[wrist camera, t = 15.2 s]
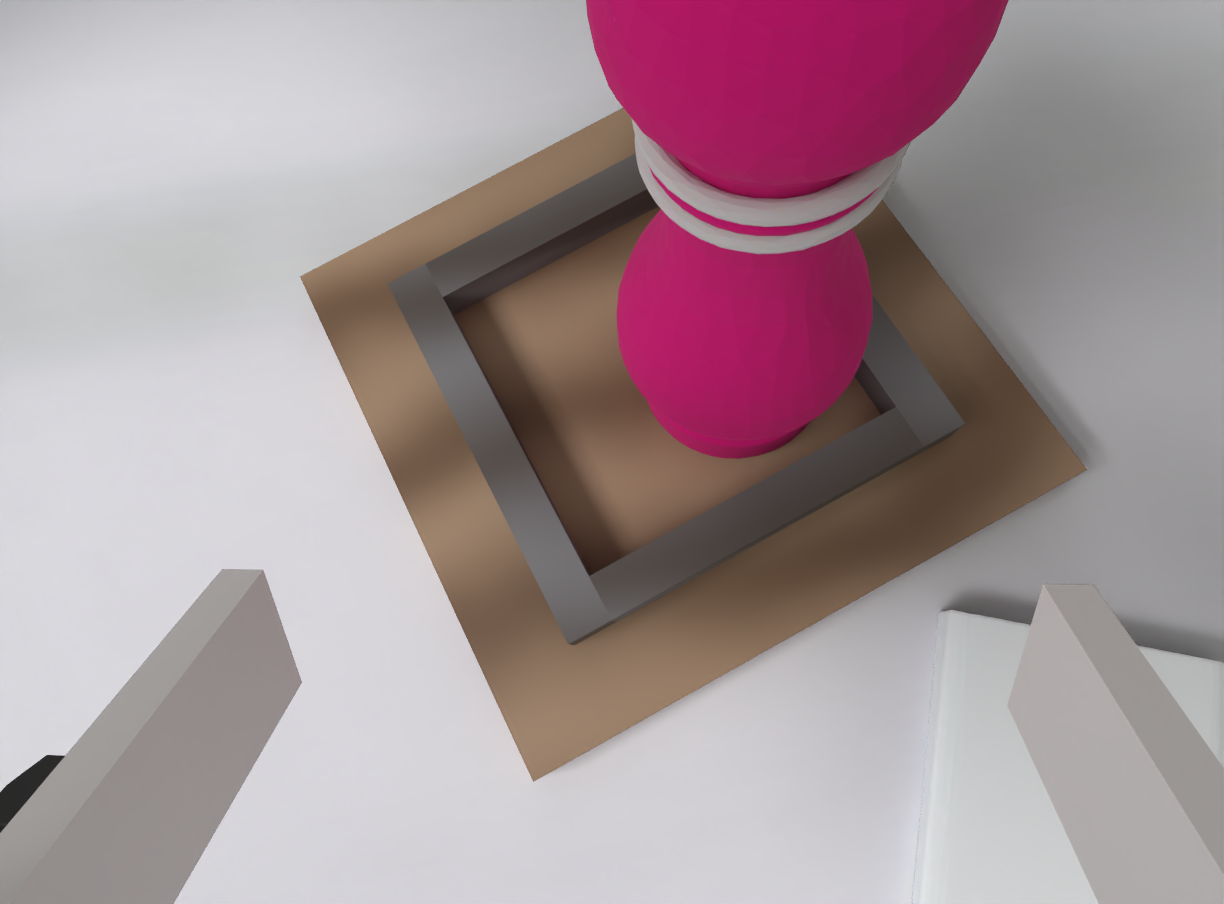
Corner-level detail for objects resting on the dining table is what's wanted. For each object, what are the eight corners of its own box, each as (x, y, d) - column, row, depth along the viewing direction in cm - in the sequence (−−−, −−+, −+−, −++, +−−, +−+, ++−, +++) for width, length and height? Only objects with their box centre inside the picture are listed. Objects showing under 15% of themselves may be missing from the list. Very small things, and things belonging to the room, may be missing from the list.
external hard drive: (1199, 663, 24) (1194, 1117, 21) (933, 611, 25) (891, 1036, 22) (1235, 663, 23) (1235, 1154, 20) (949, 608, 24) (907, 1064, 21)
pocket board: (314, 291, 30) (281, 257, 28) (755, 60, 31) (761, 7, 28) (540, 775, 25) (523, 788, 22) (1068, 478, 25) (1110, 458, 23)
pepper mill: (828, 489, 25) (1290, -93, 6) (611, 457, 26) (387, -127, 7) (850, 289, 27) (1258, -666, 8) (646, 267, 28) (545, -625, 9)
